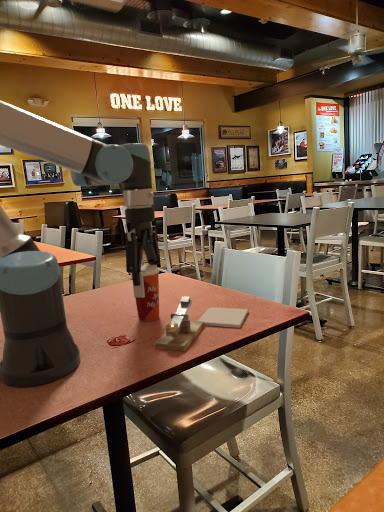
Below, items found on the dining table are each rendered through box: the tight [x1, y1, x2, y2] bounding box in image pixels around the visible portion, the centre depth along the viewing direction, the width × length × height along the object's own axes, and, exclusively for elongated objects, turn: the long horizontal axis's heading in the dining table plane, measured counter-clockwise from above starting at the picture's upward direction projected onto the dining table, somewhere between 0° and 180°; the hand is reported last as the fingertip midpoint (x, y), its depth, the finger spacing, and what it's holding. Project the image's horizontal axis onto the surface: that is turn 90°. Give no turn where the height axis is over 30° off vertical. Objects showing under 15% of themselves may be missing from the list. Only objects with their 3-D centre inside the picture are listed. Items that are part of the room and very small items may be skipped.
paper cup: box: [129, 264, 160, 322], centre depth 98 cm, size 8×8×14 cm
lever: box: [165, 295, 193, 337], centre depth 84 cm, size 12×4×2 cm, turn 160°
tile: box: [197, 306, 249, 329], centre depth 95 cm, size 11×11×1 cm
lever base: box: [154, 319, 205, 352], centre depth 85 cm, size 14×7×4 cm, turn 161°
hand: (146, 292), depth 98 cm, fingers closed on paper cup, 8 cm apart
